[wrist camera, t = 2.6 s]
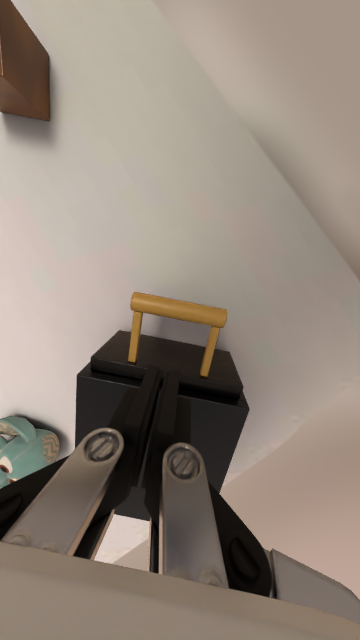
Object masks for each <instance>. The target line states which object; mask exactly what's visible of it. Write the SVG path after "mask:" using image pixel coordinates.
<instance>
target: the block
mask: <svg viewBox="0 0 360 640" xmlns="http://www.w3.org/2000/svg"><path fill="white" fill-rule="evenodd" d="M0 111H1V112H4V113H9V114H15V115H20V116H25V117H31V118H36V119H41V120H47V121H49V120H50V117H49V57H48V53H47V51H46V50H45V49H44V47H43V46H42V44H41V43H40V41H39V40H38V39H37V37H36V36H35V34H34V33H33V31H32V30H31V29H30V27H29V26H28V24H27V23H26V22H25V20H24V19H23V17H22V16H21V14H20V13H19V12H18V10H17V9H16V7H15V6H14V4H13V3H12V2H11V0H0Z"/></svg>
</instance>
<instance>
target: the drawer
mask: <svg viewBox="0 0 360 640" xmlns="http://www.w3.org/2000/svg"><path fill="white" fill-rule="evenodd" d="M130 307H131V310H133V311H134V315H133V323H132V332H126V331H121V330H119V331H118V332H117V333H116V334H115V335H114V336H113V337H112V338H111V339H110V340H109V341H107V342H106V343H105V344H104V345H103V346H102V347H101V348H100V349H99V350H98V351H97V352H96V353H95V354H94V355H93V356H92V357H91V366H90V370H95V371H100V372H105V373H107V374H106V375H111V376H116V377H121V378H126V379H132V380H137V381H143V378H144V376H145V374H146V371H147V369H148V367H149V365H155V366H160V368H159V369H161V370H163V373H162V378H161V384H160V385H163V381H164V377H165V373H166V371H170V369H175V370H180V380H179V389H182V390H187V391H192V392H197V393H202V394H207V395H212V396H217V397H222V398H224V396H226V397H231V398H236V399H240V396H241V393H242V390H243V385H242V382H241V380H240V377H239V375H238V372H237V370H236V367H235V365H234V362H233V360H232V357H231V355H230V352H228V351H223V350H218V349H215V346H216V342H217V338H218V334H219V330H220V328H223V327H224V326H225V323H226V319H227V310H226V309H221V308H215V307H210V306H205V305H200V304H195V303H190V302H185V301H179V300H174V299H169V298H164V297H159V296H154V295H149V294H143V293H138V292H134V293H133V295H132V298H131V304H130ZM143 312H144V313H149V314H154V315H159V316H164V317H169V318H174V319H179V320H185V321H190V322H195V323H200V324H205V325H210V326H211V329H210V334H209V338H208V342H207V346H206V347H202V346H197V345H192V344H187V343H182V342H177V341H172V340H167V339H161V338H156V337H151V336H146V335H141V334H140V332H141V324H142V317H143Z"/></svg>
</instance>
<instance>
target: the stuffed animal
mask: <svg viewBox="0 0 360 640" xmlns="http://www.w3.org/2000/svg"><path fill="white" fill-rule="evenodd" d="M0 434H7V435H18V436H17V437H15V438H14V439H12V440H11V441H10V442H7V441H6V439H5V438H4V437H3V436H1V435H0V488H1V487H4V486H6V485H8V484H10V483H12V482H14V481H17V480H19V479H21V478H23V477H25V476H27V475H29V474H31V473H33V472H35V471H38V470H40V469H42V468H44V467H46V466H48V465H50V464H52V463H54V462H55V461H56V458H57V455H58V453H59V448H60V445H59V440H58V437H57V436H56V434H54V433H53V432H51V431H48V430H44V429H35V428H34V426H33V425H32V424H31V423H30V422H28V421H27V420H26V418H20V417H15V416H10V417H6V418H2V419H0Z"/></svg>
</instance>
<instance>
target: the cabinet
mask: <svg viewBox="0 0 360 640" xmlns="http://www.w3.org/2000/svg"><path fill="white" fill-rule="evenodd" d="M90 366H91V361H90V362H89V363H88V364H87V365H86V366H85V367H84V368H83V370H81V371H80V372H79V373H78V374H77V389H76V429H75V449H76V447H77V446H78V445H79V444H80V442H81V441H82V440H83V439H84V438H85V437H86V436H87V435H88V434H89V433H91V432H93V431H94V430H97V429H100V428H107V426H108V424H109V422H110V420H111V418H112V416H113V414H114V412H115V411H116V409H117V407H118V405H119V403H120V401H121V399H122V397H123V395H124V393H125V391H126V389H127V388H128V387H133V388H138V389H139V388H140V385H141V383H142V381H137V380H132V379H126V378H121V377H116V376H111V375H106V374H107V373H105V372H100V371H95V370H90ZM161 389H162V385H160V389H159V395H158V401H159V397H160V393H161ZM178 396H179V397H184V398H189V399H191V446H193V447H194V448H195V449H197V450H198V452H199V453H200V454H201V456H202V459H203V461H204V466H205V471H206V476H207V480H208V481H209V482H210V483H211V484H212V486H213V487H214V488H215V489H216V490H217V492H218V493H220V490H221V487H222V484H223V482H224V479H225V476H226V473H227V470H228V468H229V465H230V462H231V459H232V457H233V454H234V451H235V448H236V445H237V443H238V440H239V437H240V434H241V432H242V429H243V426H244V423H245V420H246V418H247V415H248V412H249V406H248V404H247V401H246V398H245V396H244V393H243V391H242V393H241V396H240V399H236V398H231V397H226V396H224V398H222V397H217V396H212V395H207V394H202V393H197V392H192V391H187V390H182V389H178ZM158 401H157V405H158ZM156 409H157V406H156ZM155 413H156V412H155ZM154 417H155V416H154ZM153 422H154V420H153ZM152 426H153V424H152ZM151 430H152V429H151ZM150 435H151V433H150ZM149 441H150V437H149ZM149 441H148V445H147V449H146V453H145V457H144V461H143V465H142V469H141V473H140V477H139V481H138V485H137V487H132V488H131V491H130V495H129V497H127V499H126V500H125V501H124V502H123V503H121V504H120V505H119V506H117V507H116V509H115V512H114V514H116V515H121V516H126V517H131V518H136V519H141V520H146V521H150V517H151V516H150V514H149V513H148V511H147V509H146V507H145V505H144V498H145V493H146V489H141V486H142V480H143V475H144V469H145V463H146V458H147V452H148V447H149Z"/></svg>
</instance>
